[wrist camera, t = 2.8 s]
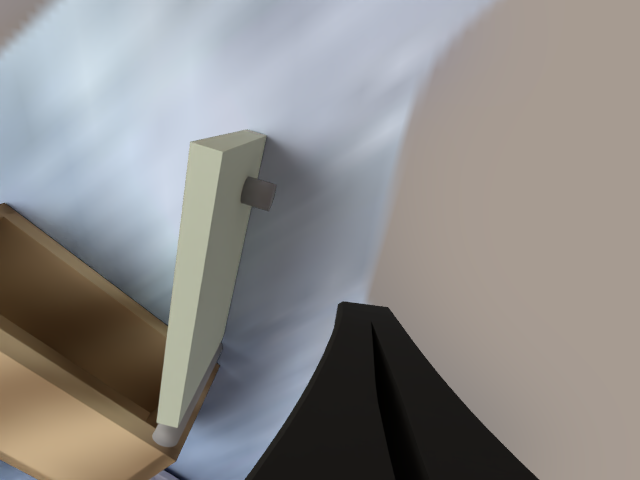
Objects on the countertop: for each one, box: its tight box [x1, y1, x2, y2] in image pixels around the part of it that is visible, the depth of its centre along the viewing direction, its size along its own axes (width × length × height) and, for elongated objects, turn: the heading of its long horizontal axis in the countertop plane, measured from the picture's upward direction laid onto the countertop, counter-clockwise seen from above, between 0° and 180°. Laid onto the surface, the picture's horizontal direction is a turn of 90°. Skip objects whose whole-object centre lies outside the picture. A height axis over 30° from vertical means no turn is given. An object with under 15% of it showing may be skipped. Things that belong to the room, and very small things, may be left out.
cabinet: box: [0, 203, 220, 480], centre depth 14 cm, size 13×6×5 cm, turn 43°
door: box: [152, 130, 276, 447], centre depth 12 cm, size 12×2×5 cm, turn 163°
